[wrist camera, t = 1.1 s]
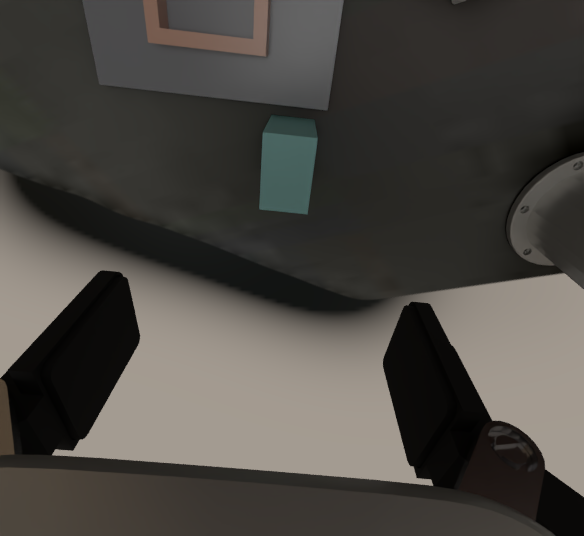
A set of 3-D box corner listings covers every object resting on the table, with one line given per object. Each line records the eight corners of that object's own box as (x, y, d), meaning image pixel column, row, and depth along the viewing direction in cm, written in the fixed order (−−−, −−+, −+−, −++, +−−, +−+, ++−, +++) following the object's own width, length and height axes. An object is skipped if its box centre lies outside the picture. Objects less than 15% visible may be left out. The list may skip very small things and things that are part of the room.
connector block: (314, 119, 30) (317, 138, 23) (306, 182, 33) (307, 214, 27) (271, 114, 30) (262, 132, 23) (268, 178, 33) (259, 209, 27)
